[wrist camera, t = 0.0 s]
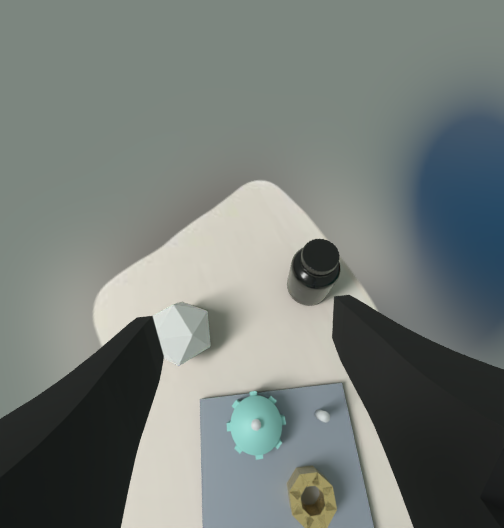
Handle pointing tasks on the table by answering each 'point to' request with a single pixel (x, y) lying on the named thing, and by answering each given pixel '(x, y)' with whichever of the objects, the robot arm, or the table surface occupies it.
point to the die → (182, 332)
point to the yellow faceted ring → (323, 510)
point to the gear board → (278, 457)
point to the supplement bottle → (313, 272)
